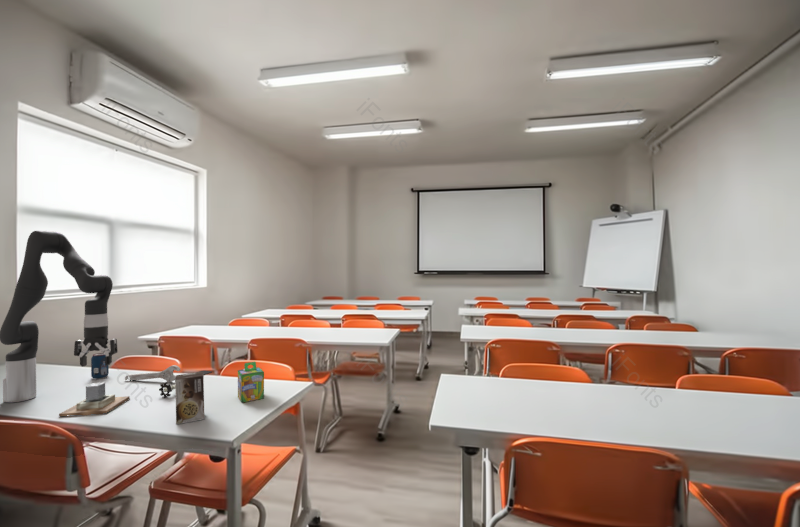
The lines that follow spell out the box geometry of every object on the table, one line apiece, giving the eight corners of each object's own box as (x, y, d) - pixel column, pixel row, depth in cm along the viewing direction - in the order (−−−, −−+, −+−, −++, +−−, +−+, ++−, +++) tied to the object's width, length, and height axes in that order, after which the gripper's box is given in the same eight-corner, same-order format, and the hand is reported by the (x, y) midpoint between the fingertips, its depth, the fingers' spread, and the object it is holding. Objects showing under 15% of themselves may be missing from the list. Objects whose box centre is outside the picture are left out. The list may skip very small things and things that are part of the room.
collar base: (59, 417, 140) (59, 408, 140) (87, 401, 156) (87, 393, 156) (106, 413, 143) (106, 404, 143) (129, 399, 158) (129, 391, 158)
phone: (213, 371, 198) (187, 379, 184) (213, 373, 198) (187, 381, 184) (203, 370, 201) (177, 377, 187) (203, 371, 201) (177, 379, 187)
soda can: (96, 375, 194) (96, 352, 194) (111, 375, 195) (111, 352, 195) (88, 379, 187) (87, 355, 187) (103, 378, 188) (103, 355, 189)
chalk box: (241, 403, 152) (241, 366, 152) (237, 397, 159) (236, 362, 159) (264, 398, 157) (264, 363, 157) (259, 392, 164) (259, 359, 165)
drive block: (85, 407, 147) (85, 386, 147) (93, 403, 151) (93, 383, 151) (98, 406, 147) (98, 385, 147) (105, 402, 152) (105, 382, 152)
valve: (183, 388, 172) (158, 397, 161) (183, 374, 172) (158, 381, 161) (194, 390, 170) (170, 398, 158) (194, 375, 170) (169, 383, 158)
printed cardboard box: (204, 413, 141) (203, 371, 142) (204, 419, 136) (204, 375, 136) (176, 418, 137) (175, 374, 137) (175, 424, 131) (174, 379, 132)
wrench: (128, 385, 186) (182, 380, 182) (125, 387, 184) (179, 382, 180) (126, 369, 186) (180, 364, 182) (123, 370, 185) (177, 365, 180)
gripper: (69, 327, 144) (69, 369, 144) (110, 326, 147) (110, 367, 147) (82, 324, 152) (82, 364, 152) (121, 323, 154) (121, 362, 154)
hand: (96, 365), depth 149 cm, fingers open, 8 cm apart
